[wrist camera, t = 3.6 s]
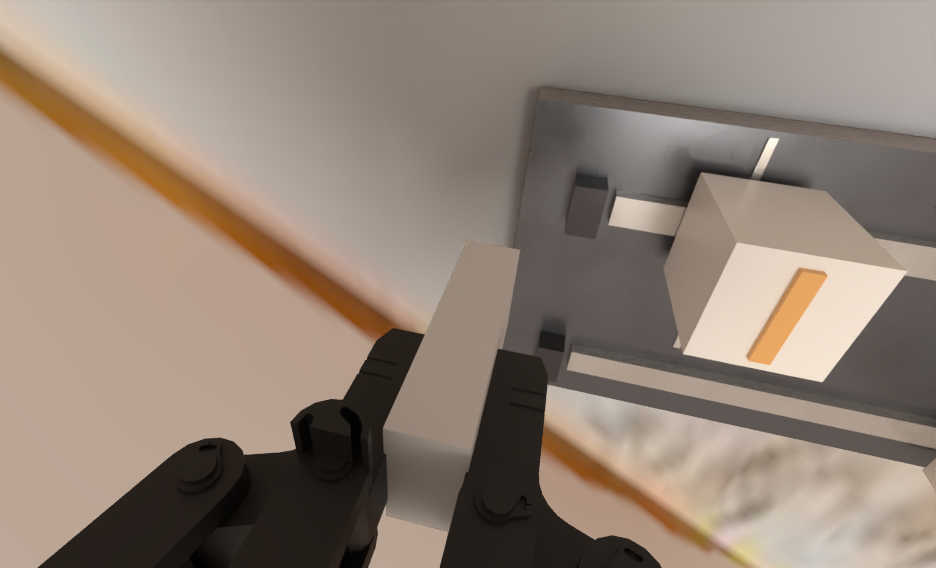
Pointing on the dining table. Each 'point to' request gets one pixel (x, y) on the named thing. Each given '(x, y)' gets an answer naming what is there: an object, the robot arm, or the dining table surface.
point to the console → (649, 243)
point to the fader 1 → (773, 276)
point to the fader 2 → (931, 473)
